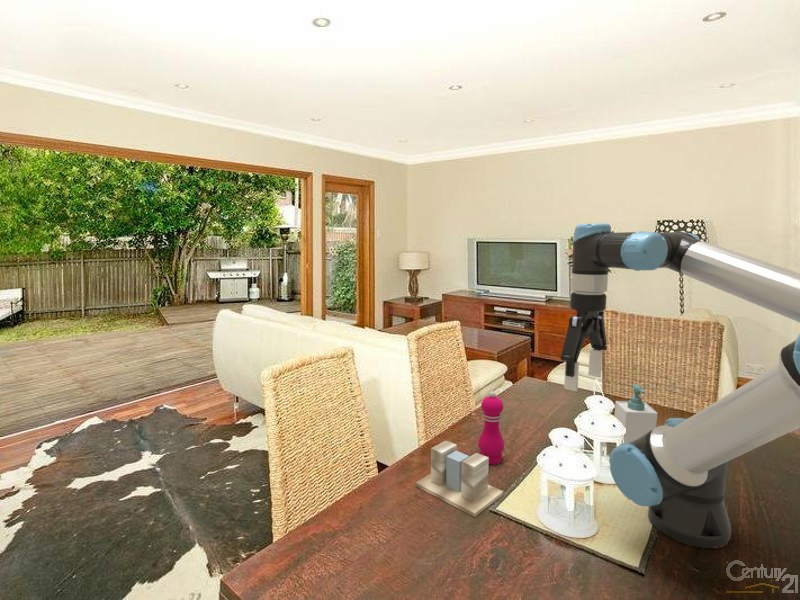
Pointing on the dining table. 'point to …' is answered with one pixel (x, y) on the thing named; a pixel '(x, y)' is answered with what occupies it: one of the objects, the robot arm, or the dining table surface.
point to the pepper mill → (491, 429)
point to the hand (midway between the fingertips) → (583, 382)
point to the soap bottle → (635, 416)
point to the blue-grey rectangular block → (454, 470)
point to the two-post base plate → (473, 484)
